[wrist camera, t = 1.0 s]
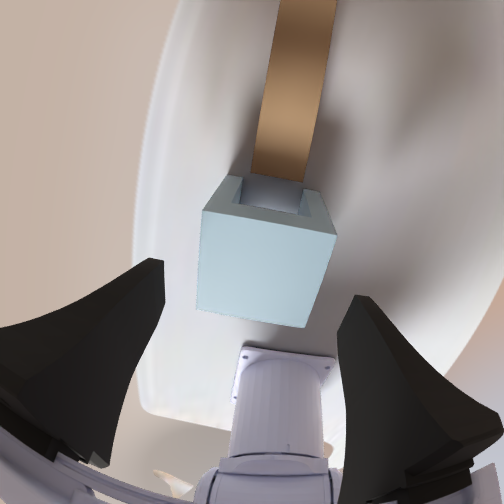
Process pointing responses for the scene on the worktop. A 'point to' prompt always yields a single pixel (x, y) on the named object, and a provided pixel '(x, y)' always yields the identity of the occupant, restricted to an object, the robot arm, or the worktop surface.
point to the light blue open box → (262, 257)
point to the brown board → (293, 88)
